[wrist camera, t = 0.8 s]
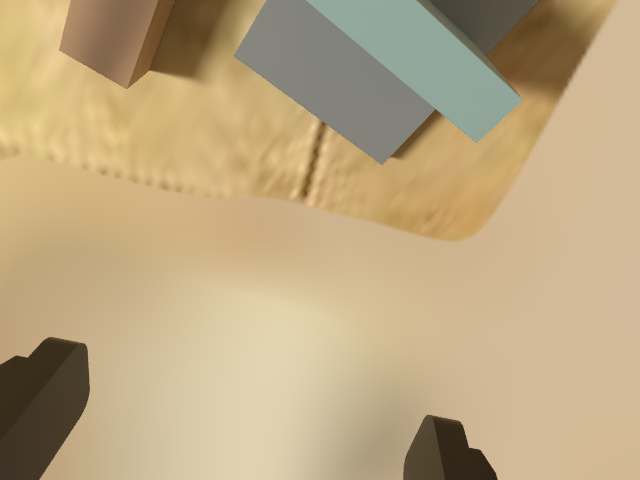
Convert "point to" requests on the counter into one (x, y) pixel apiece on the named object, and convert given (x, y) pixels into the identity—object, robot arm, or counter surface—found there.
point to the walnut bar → (116, 36)
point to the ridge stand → (387, 63)
